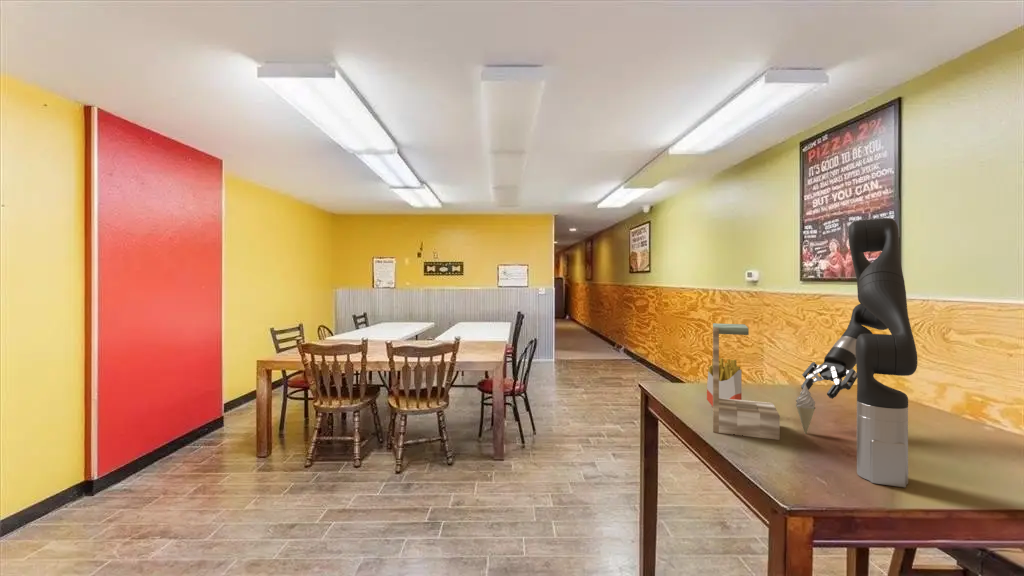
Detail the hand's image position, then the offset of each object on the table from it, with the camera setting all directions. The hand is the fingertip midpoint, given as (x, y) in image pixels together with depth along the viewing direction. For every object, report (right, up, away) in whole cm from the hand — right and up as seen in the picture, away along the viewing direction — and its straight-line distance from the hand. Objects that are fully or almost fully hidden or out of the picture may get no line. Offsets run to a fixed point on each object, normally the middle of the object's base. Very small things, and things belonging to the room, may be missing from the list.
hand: (816, 393), depth 139 cm
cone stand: (-19, -12, +3) cm, 23 cm away
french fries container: (-16, -12, +27) cm, 33 cm away
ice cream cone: (-4, -12, -1) cm, 13 cm away
